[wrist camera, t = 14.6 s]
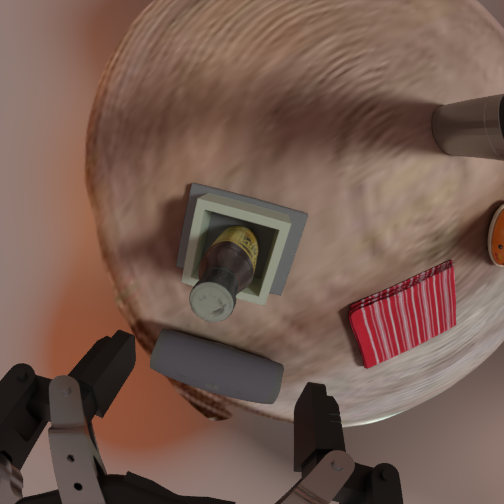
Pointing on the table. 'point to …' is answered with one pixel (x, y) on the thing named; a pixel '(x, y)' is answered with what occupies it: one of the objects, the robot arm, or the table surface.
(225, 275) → the sauce bottle
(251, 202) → the bottle jig
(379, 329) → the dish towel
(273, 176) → the table surface
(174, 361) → the bluetooth speaker
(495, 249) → the stacking toy
